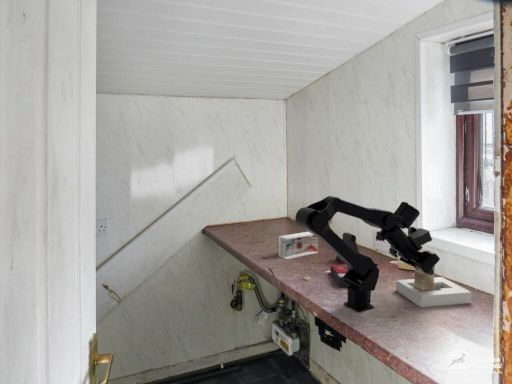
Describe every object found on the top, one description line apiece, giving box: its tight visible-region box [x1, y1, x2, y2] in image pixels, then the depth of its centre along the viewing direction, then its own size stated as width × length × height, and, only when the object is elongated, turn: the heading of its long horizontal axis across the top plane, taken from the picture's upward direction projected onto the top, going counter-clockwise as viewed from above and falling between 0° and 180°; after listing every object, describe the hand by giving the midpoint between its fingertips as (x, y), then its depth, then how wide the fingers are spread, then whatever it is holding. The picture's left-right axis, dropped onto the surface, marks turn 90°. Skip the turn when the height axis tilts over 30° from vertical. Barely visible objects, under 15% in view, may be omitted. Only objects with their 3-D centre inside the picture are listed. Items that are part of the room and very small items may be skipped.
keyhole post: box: [414, 248, 436, 292], centre depth 114 cm, size 6×6×15 cm
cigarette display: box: [278, 231, 319, 260], centre depth 163 cm, size 20×6×9 cm, turn 122°
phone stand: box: [335, 232, 360, 265], centre depth 152 cm, size 9×6×12 cm, turn 106°
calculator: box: [329, 264, 363, 288], centre depth 130 cm, size 11×4×15 cm
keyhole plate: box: [395, 276, 472, 308], centre depth 115 cm, size 17×14×4 cm
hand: (428, 271), depth 114 cm, fingers closed on keyhole post, 4 cm apart
